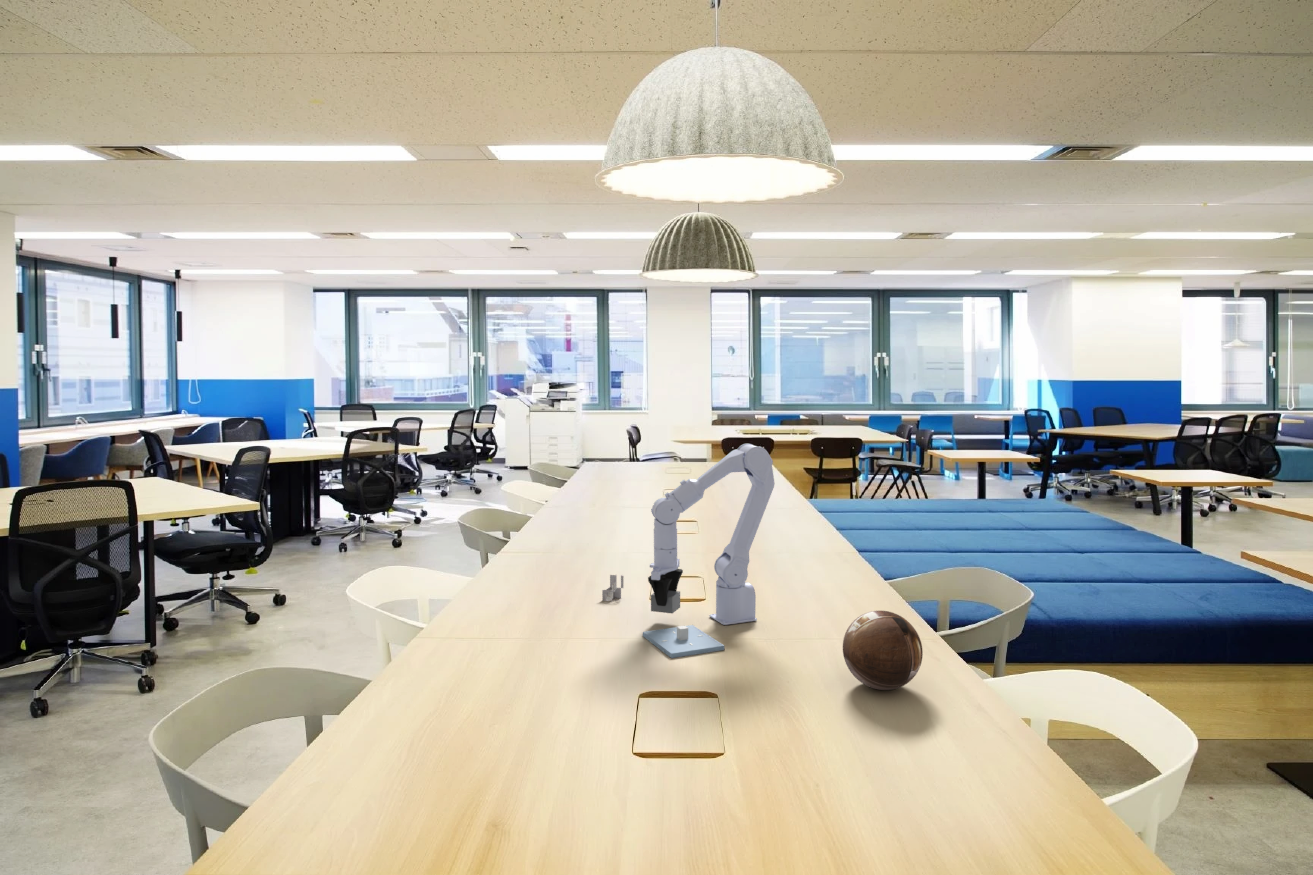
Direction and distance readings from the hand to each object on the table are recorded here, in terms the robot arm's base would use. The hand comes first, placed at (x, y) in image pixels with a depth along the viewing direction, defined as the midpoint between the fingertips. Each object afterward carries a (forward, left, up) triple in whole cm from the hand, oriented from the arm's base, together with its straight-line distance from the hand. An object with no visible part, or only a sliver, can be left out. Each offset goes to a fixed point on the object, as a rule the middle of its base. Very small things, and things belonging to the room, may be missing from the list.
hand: (666, 602), depth 197 cm
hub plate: (+3, +15, -5) cm, 16 cm away
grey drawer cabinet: (0, 0, -2) cm, 2 cm away
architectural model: (+3, -20, -6) cm, 21 cm away
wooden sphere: (-22, +54, -5) cm, 58 cm away
